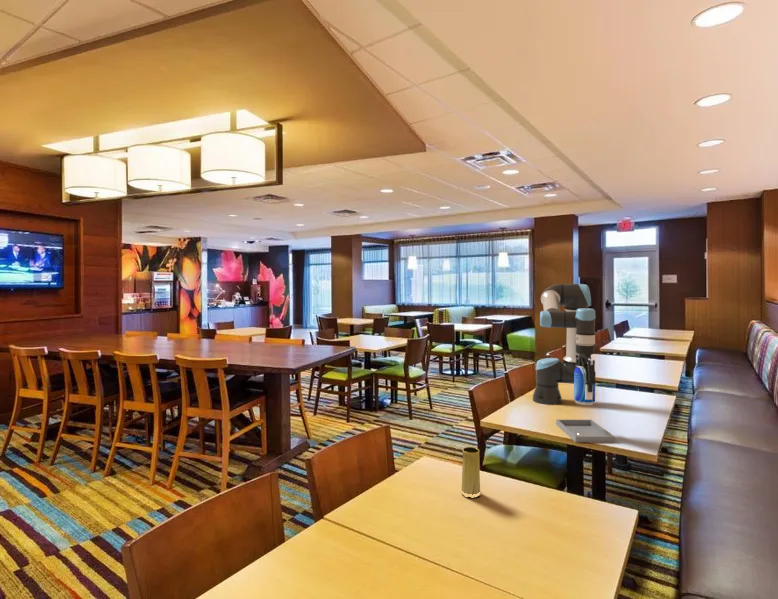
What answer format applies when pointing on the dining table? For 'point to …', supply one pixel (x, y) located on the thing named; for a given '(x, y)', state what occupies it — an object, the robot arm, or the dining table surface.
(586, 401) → the beer can
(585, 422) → the tray
